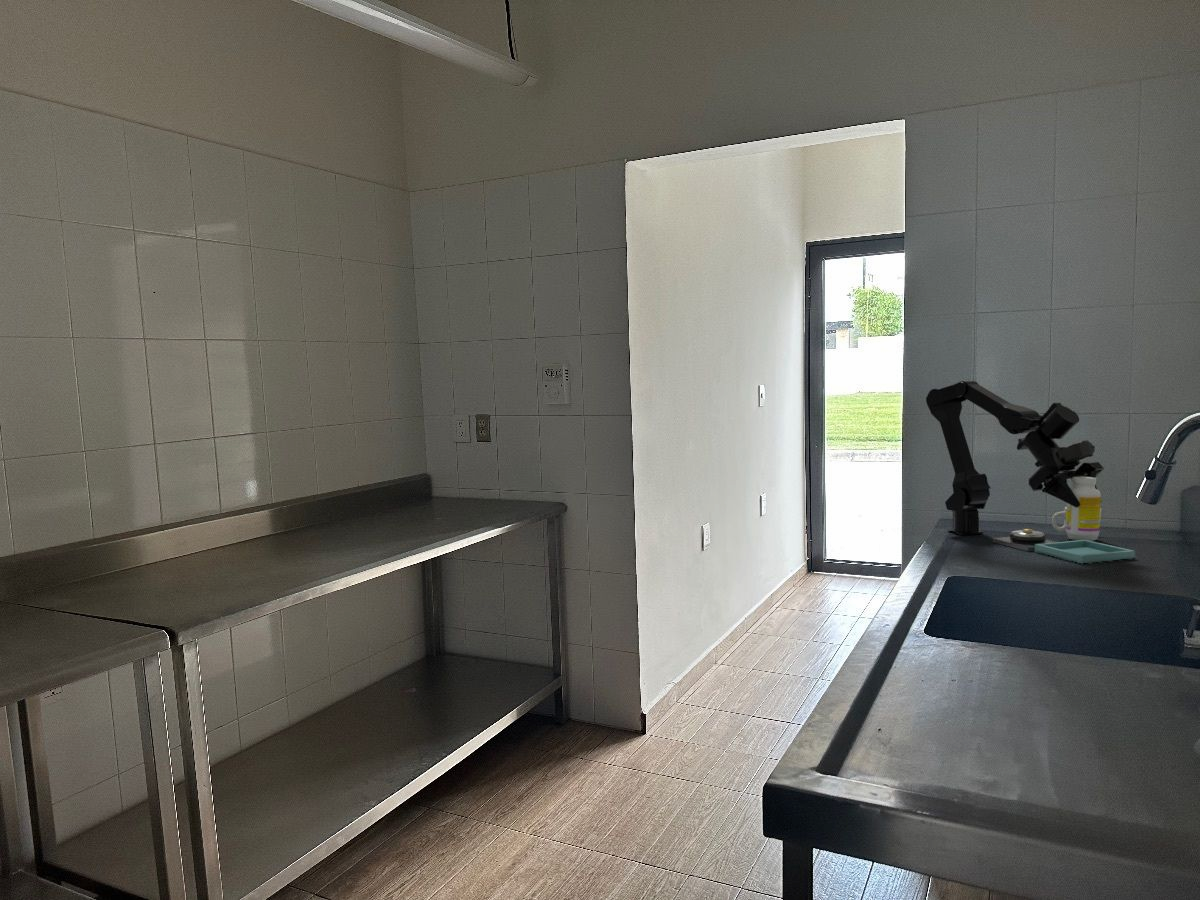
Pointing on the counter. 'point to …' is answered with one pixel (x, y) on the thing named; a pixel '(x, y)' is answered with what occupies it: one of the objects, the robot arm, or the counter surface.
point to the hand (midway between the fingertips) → (1089, 504)
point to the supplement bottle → (1084, 508)
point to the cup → (1063, 528)
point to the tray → (1084, 551)
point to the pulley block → (1023, 539)
